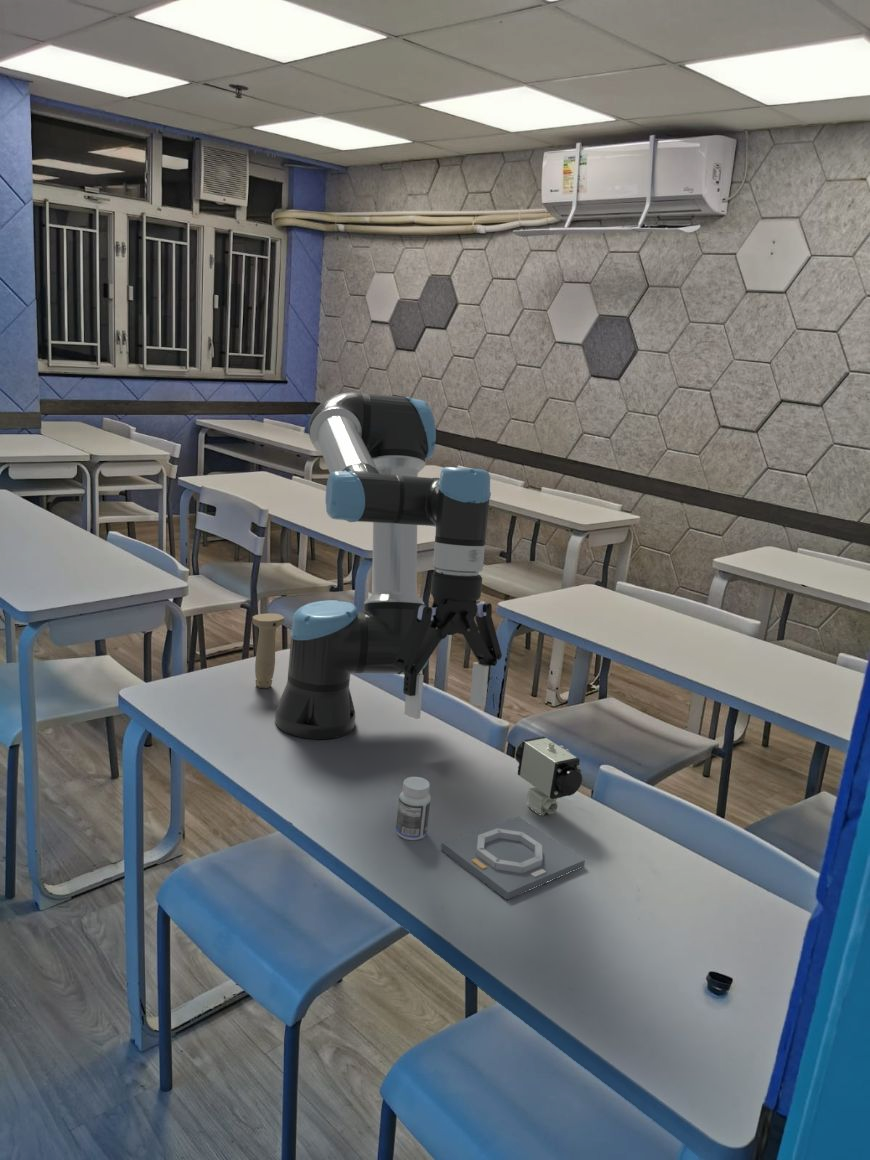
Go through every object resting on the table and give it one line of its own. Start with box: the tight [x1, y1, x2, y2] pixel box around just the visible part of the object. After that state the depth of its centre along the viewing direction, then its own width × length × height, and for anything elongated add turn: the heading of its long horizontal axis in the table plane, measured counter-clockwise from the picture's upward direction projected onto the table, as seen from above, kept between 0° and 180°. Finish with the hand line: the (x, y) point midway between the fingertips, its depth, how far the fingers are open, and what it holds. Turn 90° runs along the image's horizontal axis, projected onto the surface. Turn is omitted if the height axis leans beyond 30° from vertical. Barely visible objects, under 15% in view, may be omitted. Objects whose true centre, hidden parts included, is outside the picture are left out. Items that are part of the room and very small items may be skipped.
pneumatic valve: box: [515, 736, 583, 815], centre depth 143 cm, size 6×12×12 cm, turn 33°
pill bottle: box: [395, 776, 432, 841], centre depth 132 cm, size 5×5×8 cm
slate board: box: [440, 815, 586, 900], centre depth 129 cm, size 14×16×2 cm
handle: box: [252, 612, 285, 689], centre depth 180 cm, size 5×6×15 cm
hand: (445, 710), depth 133 cm, fingers open, 13 cm apart
